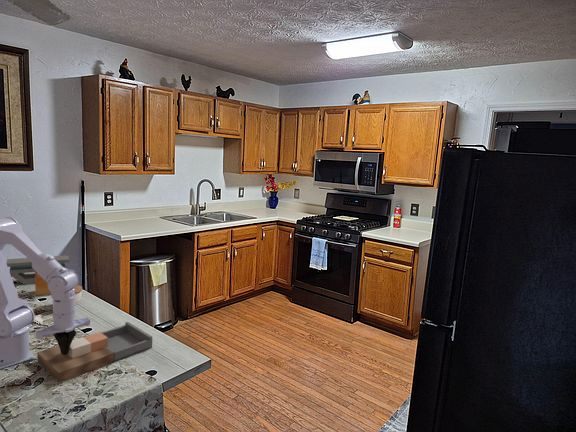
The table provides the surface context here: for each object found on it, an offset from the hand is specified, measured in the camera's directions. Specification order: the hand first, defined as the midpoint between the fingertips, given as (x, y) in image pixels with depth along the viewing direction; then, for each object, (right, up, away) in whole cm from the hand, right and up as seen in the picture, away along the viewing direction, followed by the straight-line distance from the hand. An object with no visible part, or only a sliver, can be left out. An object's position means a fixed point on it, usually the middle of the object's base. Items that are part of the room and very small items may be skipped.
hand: (64, 353), depth 117 cm
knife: (-23, +1, +29) cm, 37 cm away
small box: (-40, +7, +56) cm, 69 cm away
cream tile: (+2, -1, +3) cm, 4 cm away
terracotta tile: (+6, 0, +8) cm, 9 cm away
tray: (+11, -3, +15) cm, 19 cm away
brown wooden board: (+2, -4, +3) cm, 5 cm away
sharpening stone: (-52, +10, +69) cm, 87 cm away
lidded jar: (-24, +4, +43) cm, 49 cm away
